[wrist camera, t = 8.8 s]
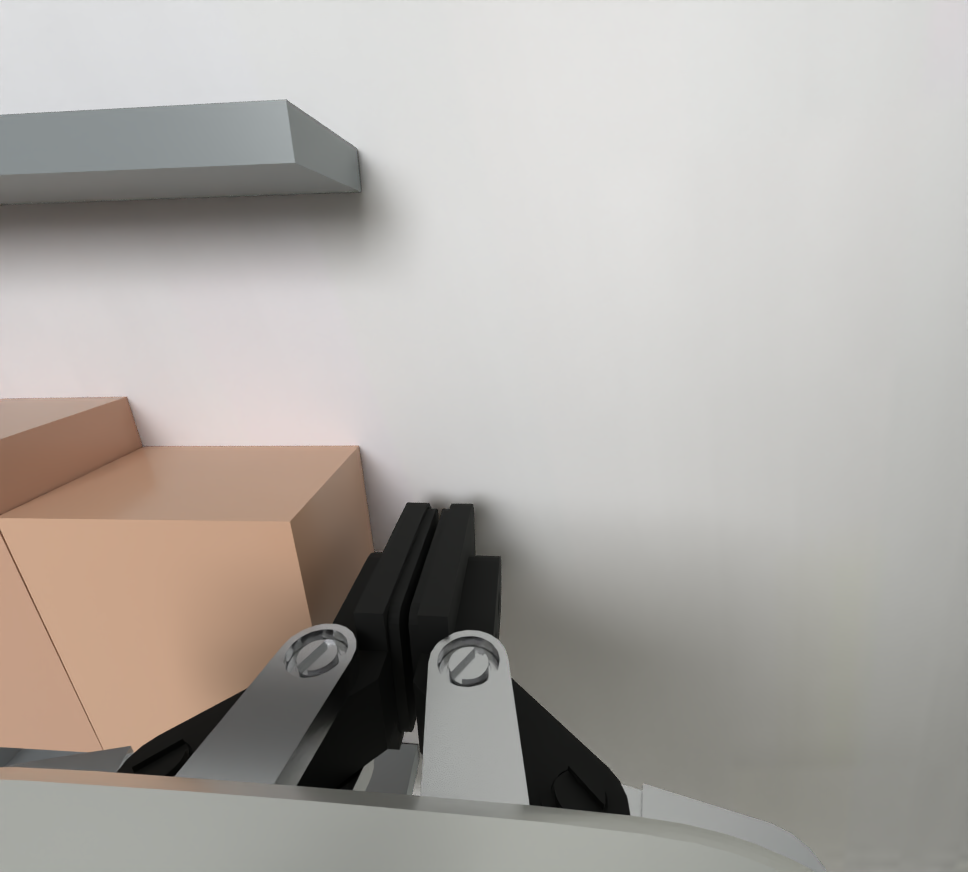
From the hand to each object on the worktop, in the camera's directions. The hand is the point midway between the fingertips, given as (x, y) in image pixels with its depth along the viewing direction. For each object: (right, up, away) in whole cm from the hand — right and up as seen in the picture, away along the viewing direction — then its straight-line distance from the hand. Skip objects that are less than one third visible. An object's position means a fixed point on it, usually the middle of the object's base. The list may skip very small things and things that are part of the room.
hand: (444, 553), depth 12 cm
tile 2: (-5, -1, +2) cm, 6 cm away
